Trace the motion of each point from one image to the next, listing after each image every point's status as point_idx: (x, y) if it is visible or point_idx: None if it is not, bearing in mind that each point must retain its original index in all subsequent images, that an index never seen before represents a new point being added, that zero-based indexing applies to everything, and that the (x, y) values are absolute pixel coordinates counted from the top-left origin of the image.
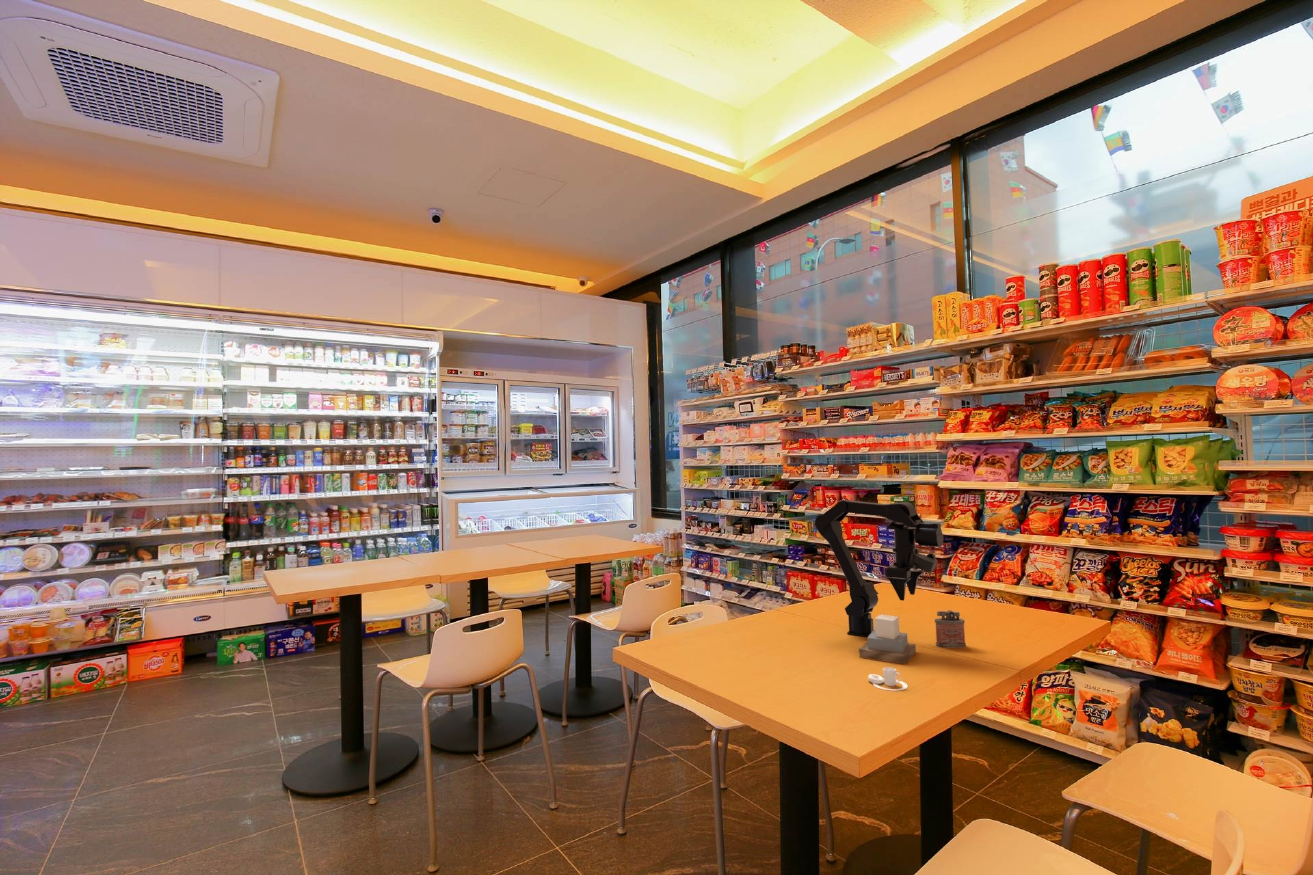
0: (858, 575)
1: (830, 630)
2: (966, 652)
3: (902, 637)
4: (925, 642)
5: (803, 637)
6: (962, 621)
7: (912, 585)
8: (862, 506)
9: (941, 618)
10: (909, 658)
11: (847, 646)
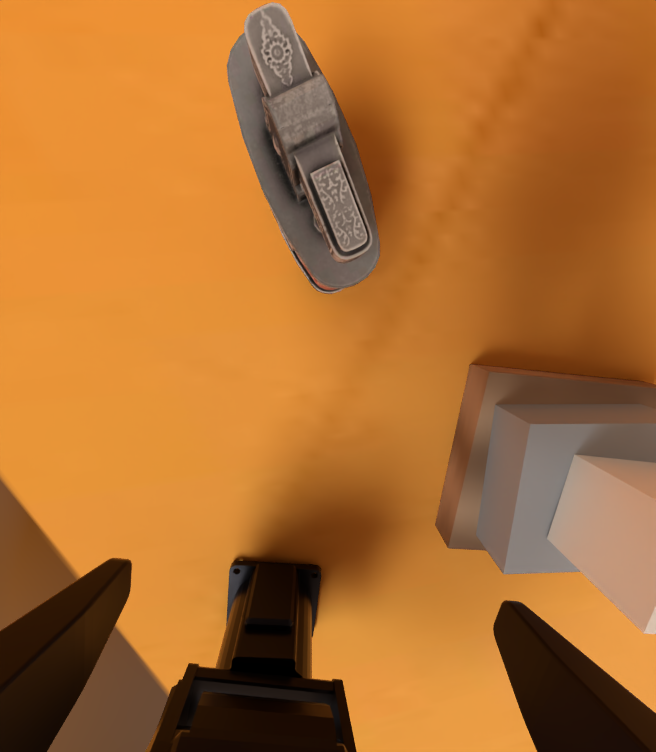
0: None
1: None
2: (401, 138)
3: (622, 432)
4: (300, 344)
5: (409, 726)
6: (306, 48)
7: (6, 738)
8: None
9: (292, 238)
10: (576, 375)
11: (471, 593)
